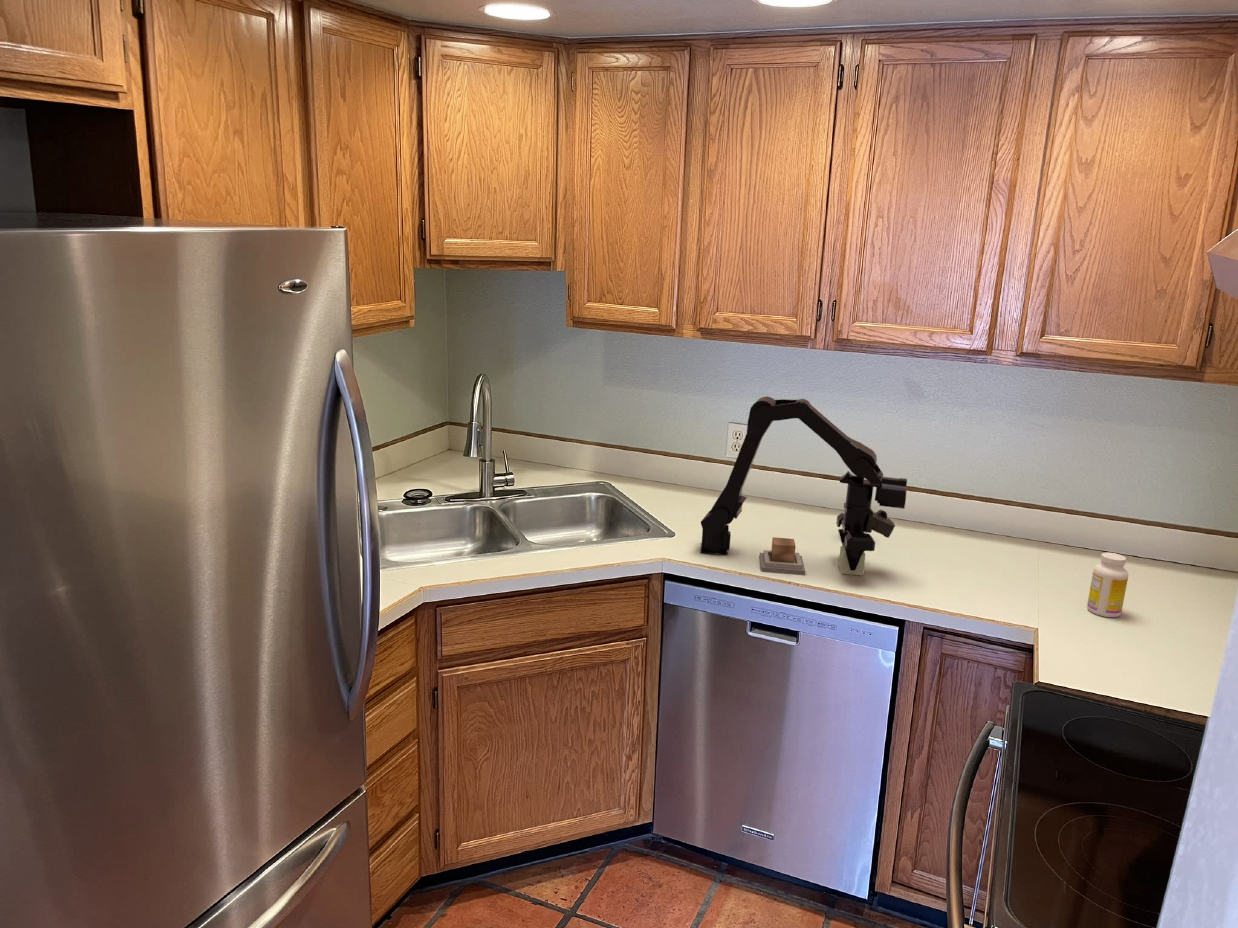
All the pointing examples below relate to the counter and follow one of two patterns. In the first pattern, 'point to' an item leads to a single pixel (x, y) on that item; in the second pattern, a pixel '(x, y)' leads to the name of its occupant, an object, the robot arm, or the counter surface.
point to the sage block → (845, 565)
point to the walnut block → (783, 550)
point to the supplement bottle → (1108, 586)
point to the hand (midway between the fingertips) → (851, 566)
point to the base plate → (781, 564)
